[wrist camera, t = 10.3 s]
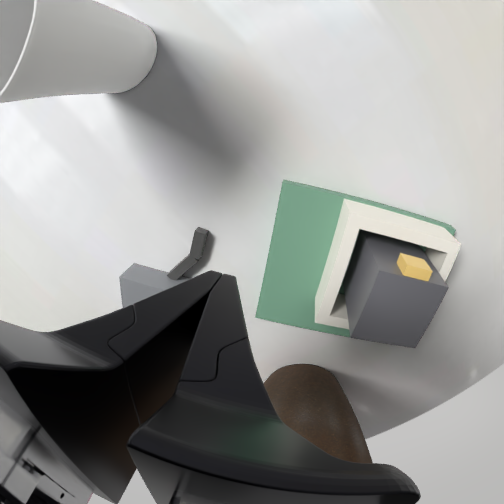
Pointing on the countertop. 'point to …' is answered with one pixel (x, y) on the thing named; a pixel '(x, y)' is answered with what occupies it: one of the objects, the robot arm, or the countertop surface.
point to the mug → (70, 49)
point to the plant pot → (317, 410)
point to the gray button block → (159, 274)
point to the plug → (391, 290)
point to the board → (333, 253)
